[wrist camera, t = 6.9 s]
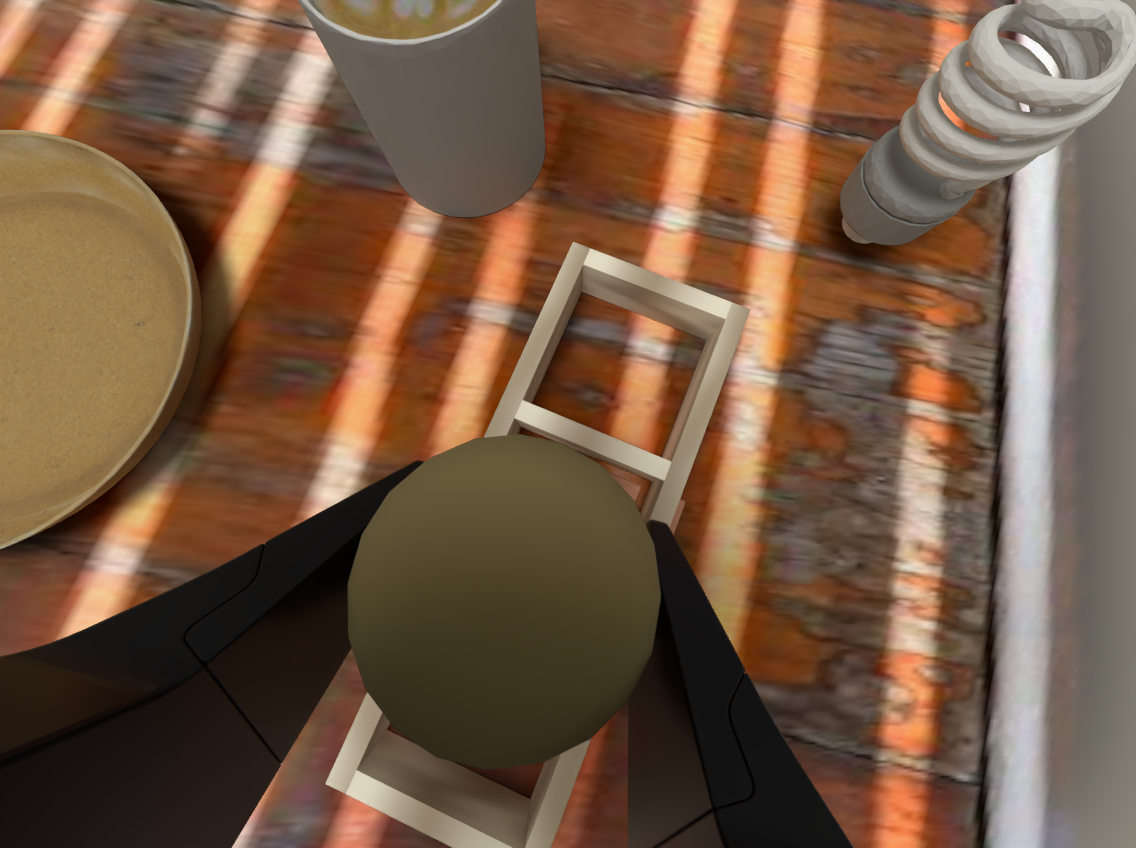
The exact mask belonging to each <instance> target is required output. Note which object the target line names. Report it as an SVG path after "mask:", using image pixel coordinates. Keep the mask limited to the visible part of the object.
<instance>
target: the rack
mask: <svg viewBox="0 0 1136 848" xmlns="http://www.w3.org/2000/svg"><path fill="white" fill-rule="evenodd" d="M581 292H584V293H586V294H589V295H591V296H594V297H597V298H599V299H602V300H604V301H607V302H609V303H612V304H615V305H617V306H620V307H622V308H625V309H627V310H630V311H632V312H635V313H638V314H640V315H643V316H645V317H648V318H650V319H653V320H656V321H658V322H661V323H663V324H666V325H668V326H671V327H674V328H676V329H679V330H681V331H684V332H686V333H689V334H692V335H694V336H697V337H699V338H702V339H704V340H706V343H705V345H704V348H703V351H702V353H701V356H700V358H699V361H698V364H697V366H696V369H695V371H694V374H693V377H692V379H691V382H690V384H689V387H688V390H687V392H686V395H685V397H684V400H683V403H682V405H681V408H680V410H679V413H678V416H677V418H676V421H675V424H674V426H673V429H672V431H671V434H670V437H669V439H668V442H667V444H666V447H665V450H664V452H663V455H662V457H659V456H657V455H654V454H652V453H649V452H647V451H645V450H642V449H640V448H637V447H635V446H632V445H630V444H628V443H625V442H623V441H620V440H618V439H616V438H613V437H611V436H608V435H606V434H603V433H601V432H599V431H596V430H594V429H591V428H589V427H587V426H584V425H582V424H579V423H577V422H574V421H572V420H570V419H567V418H565V417H562V416H560V415H558V414H555V413H553V412H550V411H548V410H545V409H543V408H541V407H538V406H536V405H533V404H532V402H533V400H534V398H535V396H536V393H537V391H538V389H539V387H540V384H541V382H542V380H543V378H544V375H545V373H546V371H547V369H548V366H549V364H550V362H551V360H552V357H553V355H554V353H555V350H556V348H557V346H558V344H559V341H560V339H561V337H562V335H563V332H564V330H565V328H566V326H567V323H568V321H569V319H570V317H571V314H572V312H573V310H574V308H575V305H576V303H577V301H578V299H579V296H580V294H581ZM749 312H750V309H748V308H745V307H742V306H740V305H737V304H735V303H732V302H729V301H727V300H724V299H721V298H719V297H716V296H714V295H711V294H708V293H706V292H703V291H700V290H698V289H695V288H693V287H690V286H687V285H685V284H682V283H680V282H677V281H674V280H672V279H669V278H666V277H664V276H661V275H659V274H656V273H653V272H651V271H648V270H645V269H643V268H640V267H638V266H635V265H632V264H630V263H627V262H624V261H622V260H619V259H617V258H614V257H611V256H609V255H606V254H603V253H601V252H598V251H596V250H593V249H590V248H588V247H585V246H583V245H580V244H577V243H575V242H573V243H572V245H571V248H570V250H569V252H568V254H567V256H566V259H565V261H564V263H563V265H562V267H561V270H560V272H559V274H558V276H557V278H556V280H555V283H554V285H553V287H552V289H551V291H550V294H549V296H548V298H547V300H546V302H545V305H544V307H543V309H542V311H541V313H540V315H539V318H538V320H537V322H536V324H535V326H534V329H533V331H532V333H531V335H530V337H529V340H528V342H527V344H526V346H525V348H524V350H523V353H522V355H521V357H520V359H519V361H518V364H517V366H516V368H515V370H514V372H513V375H512V377H511V379H510V381H509V383H508V386H507V388H506V390H505V392H504V394H503V396H502V399H501V401H500V403H499V405H498V407H497V410H496V412H495V414H494V416H493V418H492V421H491V423H490V425H489V427H488V429H487V431H486V434H485V436H484V438H486V437H496V436H506V435H516V434H519V432H520V429H521V427H522V428H525V429H527V430H529V431H532V432H534V433H537V434H539V435H541V436H544V437H546V438H549V439H551V440H553V441H556V442H559V443H564V444H565V445H567V446H569V447H571V448H572V449H575V450H577V451H580V452H582V453H584V454H587V455H589V456H592V457H594V458H596V459H599V460H601V461H604V462H606V463H608V464H611V465H613V466H615V467H618V468H620V469H623V470H625V471H627V472H630V473H632V474H635V475H637V476H639V477H642V478H644V479H647V480H649V481H651V482H652V483H651V486H650V489H649V491H648V494H647V496H646V499H645V502H644V504H643V507H642V509H641V512H640V514H641V516H642V519H643V521H644V523H645V525H646V524H647V522H648V521H649V520H650V519H654V520H657V521H661V522H665V523H667V524H668V526H669V527H670V529H671V531H672V533H673V535H674V532H675V529H676V526H677V524H678V521H679V518H680V516H681V513H682V510H683V507H684V505H685V502H686V501H683V500H681V499H680V498H681V495H682V492H683V490H684V487H685V484H686V482H687V479H688V476H689V473H690V471H691V468H692V465H693V463H694V460H695V457H696V455H697V452H698V449H699V447H700V444H701V441H702V438H703V436H704V433H705V430H706V428H707V425H708V422H709V420H710V417H711V414H712V411H713V409H714V406H715V403H716V401H717V398H718V395H719V393H720V390H721V387H722V384H723V382H724V379H725V376H726V374H727V371H728V368H729V366H730V363H731V360H732V357H733V355H734V352H735V349H736V347H737V344H738V341H739V339H740V336H741V333H742V331H743V328H744V325H745V322H746V320H747V317H748V314H749ZM611 476H612V477H613V478H614V479H615V480H616V481H617V482H618V483H619V484H620V485H621V487H622V488H623V489H624V490H625V491H626V492H627V493H628V494H629V495H630V496H631V498H632V499H633V500H634V501H635V502H636V499H637V497H638V494H639V492H640V489H641V486H639V485H636V484H634V483H632V482H629V481H627V480H625V479H622V478H620V477H617V476H615V475H613V474H611ZM389 725H390V722H389V721H388V719H387V718H386V717H385V715H384V714H383V712H382V711H381V710H380V708H379V707H378V706H377V704H376V703H375V702H374V700H373V699H372V698H371V696H370V695H369V694H368V692H367V694H366V696H365V699H364V701H363V703H362V705H361V707H360V709H359V712H358V714H357V716H356V718H355V720H354V723H353V725H352V727H351V729H350V731H349V734H348V736H347V738H346V740H345V742H344V744H343V747H342V749H341V751H340V753H339V755H338V758H337V760H336V762H335V764H334V766H333V769H332V771H331V773H330V775H329V777H328V780H327V782H326V784H327V785H329V786H331V787H333V788H335V789H337V790H339V791H341V792H343V793H345V794H347V795H349V796H351V797H353V798H355V799H357V800H359V801H361V802H363V803H365V804H367V805H369V806H371V807H373V808H375V809H377V810H379V811H381V812H383V813H385V814H387V815H389V816H391V817H393V818H395V819H397V820H399V821H401V822H403V823H405V824H407V825H409V826H411V827H413V828H415V829H417V830H419V831H421V832H423V833H425V834H427V835H429V836H431V837H433V838H435V839H437V840H439V841H441V842H443V843H445V844H447V845H449V846H451V847H453V848H551V846H552V843H553V840H554V838H555V835H556V832H557V830H558V827H559V824H560V822H561V819H562V816H563V813H564V811H565V808H566V805H567V803H568V800H569V797H570V795H571V792H572V789H573V786H574V784H575V781H576V778H577V776H578V773H579V770H580V768H581V765H582V762H583V759H584V757H585V754H586V751H587V749H588V746H589V743H590V741H591V739H590V740H588V741H586V742H584V743H582V744H580V745H578V746H576V747H574V748H572V749H570V750H568V751H566V752H564V753H562V754H560V755H558V756H556V757H554V758H552V759H550V760H548V761H546V762H544V765H543V767H542V770H541V773H540V775H539V778H538V780H537V783H536V786H535V788H534V791H533V793H532V796H531V799H529V798H526V797H524V796H522V795H520V794H518V793H516V792H514V791H512V790H510V789H508V788H506V787H504V786H502V785H500V784H498V783H496V782H493V781H491V780H489V779H487V778H485V777H483V776H481V775H479V774H477V773H475V772H473V771H471V770H469V769H467V768H465V767H463V766H460V765H458V764H456V763H454V762H452V761H448V760H444V759H440V758H437V757H435V756H434V755H432V754H431V753H429V752H428V751H426V750H425V749H423V748H422V747H420V746H419V745H417V744H415V743H413V742H411V741H409V740H407V739H405V738H403V737H401V736H399V735H397V734H394V733H392V732H390V731H388V730H387V729H388V727H389Z"/></svg>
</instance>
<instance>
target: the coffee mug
mask: <svg viewBox="0 0 1136 848" xmlns="http://www.w3.org/2000/svg"><path fill="white" fill-rule="evenodd" d="M298 1H299V2H300V4H301V6H302V8H303V10H304V11H305V13H306V15H307V17H308V19H309V20H310V22H311V24H312V26H313V28H314V29H315V31H316V33H317V35H318V37H319V38H320V40H321V42H322V44H323V46H324V47H325V49H326V51H327V53H328V55H329V56H330V58H331V60H332V62H333V64H334V65H335V67H336V69H337V71H338V73H339V74H340V76H341V78H342V80H343V82H344V83H345V85H346V87H347V89H348V91H349V92H350V94H351V96H352V98H353V100H354V101H355V103H356V105H357V107H358V109H359V110H360V112H361V114H362V116H363V118H364V119H365V121H366V123H367V125H368V127H369V128H370V130H371V132H372V134H373V136H374V137H375V139H376V141H377V143H378V145H379V146H380V148H381V150H382V152H383V154H384V155H385V157H386V159H387V161H388V163H389V164H390V166H391V168H392V170H393V172H394V173H395V175H396V177H397V179H398V181H399V182H400V184H401V186H402V187H403V188H404V190H405V191H406V192H407V193H408V194H409V196H411V197H412V198H413V199H414V200H415V201H416V202H418V203H419V204H421V205H422V206H424V207H426V208H428V209H430V210H432V211H434V212H437V213H440V214H443V215H447V216H452V217H478V216H483V215H487V214H491V213H495V212H497V211H499V210H501V209H503V208H505V207H508V206H509V205H511V204H513V203H514V202H516V201H517V200H518V199H519V198H521V197H522V196H523V195H524V194H525V193H526V192H527V191H528V190H529V189H530V187H531V186H532V185H533V183H534V182H535V180H536V178H537V177H538V175H539V173H540V171H541V168H542V165H543V161H544V157H545V130H544V116H543V103H542V89H541V75H540V61H539V47H538V33H537V19H536V5H535V0H298Z"/></svg>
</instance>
